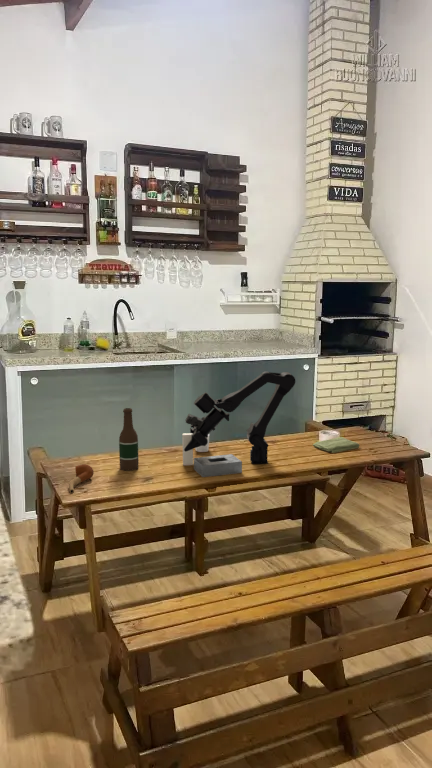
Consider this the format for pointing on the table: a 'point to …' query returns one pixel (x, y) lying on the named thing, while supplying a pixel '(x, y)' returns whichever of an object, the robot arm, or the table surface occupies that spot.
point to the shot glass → (203, 448)
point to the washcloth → (336, 445)
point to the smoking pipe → (81, 475)
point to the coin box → (217, 465)
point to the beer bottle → (128, 443)
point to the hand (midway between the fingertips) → (184, 448)
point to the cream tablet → (188, 454)
